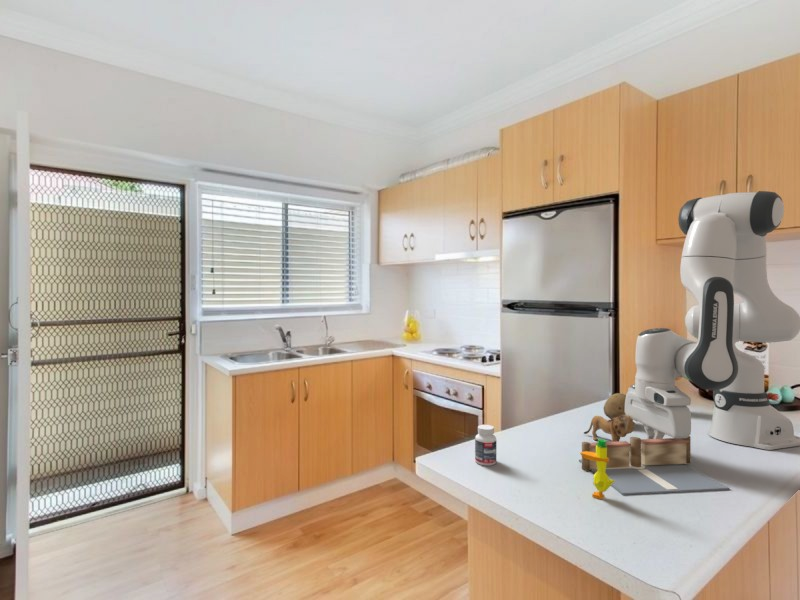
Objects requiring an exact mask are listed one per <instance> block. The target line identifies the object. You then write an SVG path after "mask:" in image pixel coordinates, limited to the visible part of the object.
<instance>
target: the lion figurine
mask: <svg viewBox="0 0 800 600" xmlns="http://www.w3.org/2000/svg"><path fill="white" fill-rule="evenodd" d="M635 427H636V422H634V420H633V419H632V418H631V417H630V416H629V415H621V416H618V417H616V418H612V419H605V418H604V417H603V416H600V415H594V416H593V417H592V418H591V422H590V426H589V428H588V430H586V431H584V432H583V434H585V435H587V434H589V433H590V432H591V430H592V438H593V440H594V441H595V442H596V441H597V442H598V439H599V438H598V437H597V436H598V434H597V431H599V430H602V431H603V433H606V434H608V435H611V442H620V440H621V438H625V437H626V436H627V435H629V434H632V432H633V431H634V429H635Z"/></svg>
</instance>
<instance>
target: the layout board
mask: <svg viewBox="0 0 800 600" xmlns="http://www.w3.org/2000/svg"><path fill="white" fill-rule="evenodd" d="M579 462H580V463H581V464H582V458H581V459H579ZM590 471H592V472H593V473H594V474H595V473H596V472H597V471H598V470H597V468H596V469H590ZM605 473H606V474H607V476H608V477H609V479H611V480H615V481H614V482H613V483H612V484H611V485H610V487H611V488H613V489H615V491H617V492H618V493H620V494H621V495H622V496H628V495H629V496H630V495H631V496H632V495H633V496H634V495H649V494H669V493H689V492H690V493H691V492H694V493H695V492H710V491H729V490H731V489H730V487H728V486H727V485H725V484H723V483H721V482H719V481H718V480H715V479H714V478H712V477H710V476H708V475H706V474H704V473H703V472H700V471H699V470H697V469H695V468H693V467H691V466H690V465H689V464H666V465H644V464H642V463H641V467H633V466H631V465H630V467H616V468H606V471H605Z"/></svg>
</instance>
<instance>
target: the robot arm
mask: <svg viewBox="0 0 800 600" xmlns="http://www.w3.org/2000/svg"><path fill="white" fill-rule="evenodd" d="M784 205H785V204H784V202H783V199H782V197H781V195H779V194H778V193H777V192H774V191H765V190H758V191H757V192H753V191H752V192H751V191H748V192H742V191H741V192H730V193H729V192H728V193H726V194H718V195H712V196H707V197H696V198H693V199H689V200H688V201H686V202H685V203H684V204H683V205H682V206H681V208H680V209H679V212H678V226H679V228H680V229H679V230H681V233H683V234H684V235H685V239H684V243H683V246H682V252H681V259H680V266H679V267H680V268H679V269H680V270H679V273H680V281H681V285H682V286H683V287H684V288H685V289H686V290H687V291H688V292H689V293H690V294H692V295H693V297H694V298H695V300H696V301H697V304H696V305H693V306H691V307H690V309H689V310H688V311H687V313H686V315H685V318H684V323H685V328H686V330H687V331H688V333H689V334H690V335H691V336H692V337H694V338H695V339H697V341H693V340H691V339H689V338H686V337H683V336H682V335H679V334H678V333H676V332H674V331H672V330H671V329H670V328H666V327H664V328H663V327H661V328H660V327H659V328H658V327H657V328H650V329H646V330H643V331H641V332H640V333H639V334H638V335H637V338H636V341H635V342H636V344H635V353H634V354H635V356H634V357H635V358H634V359H635V361H634V362H635V363H634V364H635V366H636V373H635V375H634V376H635V377H634V378H635V379H634V384H630V386H629V387H628V388H627V392H626V394H625V395H626V399H625V414H626V415H629V416H630V417H631V418H632V419H633V421H636V422H639V423H640V424H642V425H643V429H644V431H645V435H646V436H647V438H646V439H664V437H665V435H668V436H670V438H671V437H672V438H676V439H680V438H688V437H689V436H690V435H691V433H692V415H691V411H690V408H689V407H688V406H691V404H692V399H691V397H690V396H689V395H687V394H686V393H685V392H684V391H682V390H681V389H680V388H679V387H677V386H676V378H684V379H685V380H687V381H690V382H691V383H693V384H694V385H695V386H697V387H699V388H701V389H704V390H706V391H712V392H713V393H712V398H713V402H714V406H713V411H712V417H711V422H710V426H709V430H708V432H707V434H708V435H709V436H710V437H712V438H714V439H716V440H720V441H723V442H724V443H725V442H727V443H729V444H734V445H740V446H745V447H752V448H757V449H762V450H766V451H772V450H777V449H786V448H791V447H800V437H799V436H797V435H795V431H794V425H793V422H792V420H791V419H790V418H788V417H787V416H786V415H785V414H783V413H782V412H780V411H779V410H778V409H776V408H775V407H773V406H772V404H771V400H772V401H774V402H778V400H780V396H779V393H778V394H777V393H773V392H768V393H767V392H766V391H765V367H764V365H763V363H762V362H761V360H760V359H758V358H756V357H755V356H752V355H750V354H749V353H746V352H745V351H742V350H740V349H739V348H738V347H737V346H736V343H738V342H750V343H765V344H766V343H767V344H768V343H781V342H789V341H792V340H794V339H795V337H797V336H798V335H799V333H800V315H799V313H798V312H797V310H795V308H793V307H792V306H790V305H788V304H787V303H785V302H783V301H782V300H780V298H778V296H776V295H775V294H774V292H773V290H772V289H771V287H770V284H769V282H768V274H767V273H768V272H767V240H766V235H767V234H770V233H772V232H773V231H775V230H777V228H778V227H780V225H781V224H782V223H781V222H782V221H783V219H784V218H783V217H784V214H785V207H784ZM735 295H737V296H739V297H741V298H742V299H741V300H743V302H739V303H738V302H735V298H734V297H735ZM690 437H691V436H690Z"/></svg>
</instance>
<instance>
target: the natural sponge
mask: <svg viewBox="0 0 800 600" xmlns="http://www.w3.org/2000/svg"><path fill="white" fill-rule="evenodd" d="M625 399H626V394H624V393H619V392H615V393H614V394H611V395H610V396H609V397H608V398H607V399H606V401H605V403H604V404H603V413H604V415H605V416H606V417H608V418H609V420H611V419H612V418H616V417H618V416H621V415H626V414H625Z"/></svg>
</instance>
